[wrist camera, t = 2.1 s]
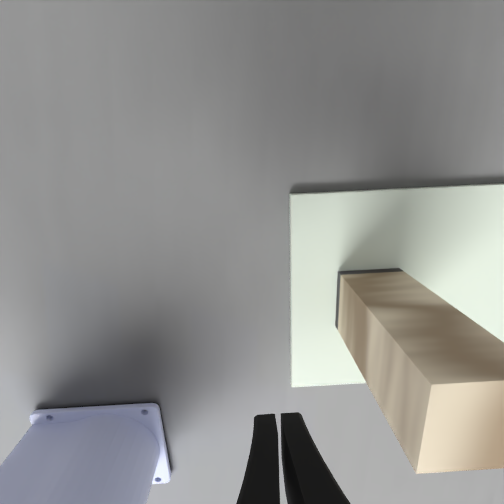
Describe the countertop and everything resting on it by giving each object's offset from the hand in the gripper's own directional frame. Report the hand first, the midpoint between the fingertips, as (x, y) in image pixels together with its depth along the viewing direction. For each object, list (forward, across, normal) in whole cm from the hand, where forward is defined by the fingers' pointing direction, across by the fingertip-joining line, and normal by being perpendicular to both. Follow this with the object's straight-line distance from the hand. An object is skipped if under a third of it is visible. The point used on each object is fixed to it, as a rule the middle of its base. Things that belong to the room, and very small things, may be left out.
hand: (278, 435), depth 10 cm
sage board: (+10, -10, 0) cm, 14 cm away
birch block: (+10, -7, 0) cm, 12 cm away
